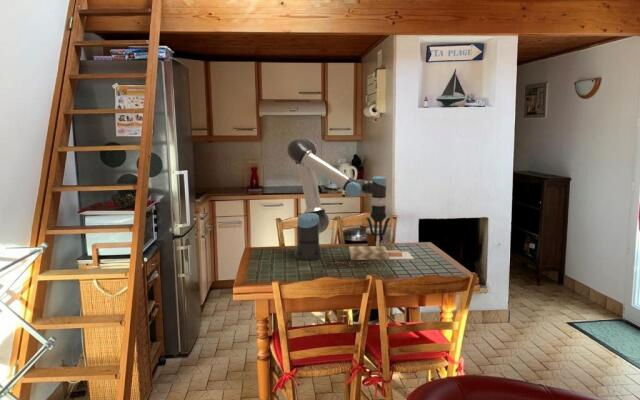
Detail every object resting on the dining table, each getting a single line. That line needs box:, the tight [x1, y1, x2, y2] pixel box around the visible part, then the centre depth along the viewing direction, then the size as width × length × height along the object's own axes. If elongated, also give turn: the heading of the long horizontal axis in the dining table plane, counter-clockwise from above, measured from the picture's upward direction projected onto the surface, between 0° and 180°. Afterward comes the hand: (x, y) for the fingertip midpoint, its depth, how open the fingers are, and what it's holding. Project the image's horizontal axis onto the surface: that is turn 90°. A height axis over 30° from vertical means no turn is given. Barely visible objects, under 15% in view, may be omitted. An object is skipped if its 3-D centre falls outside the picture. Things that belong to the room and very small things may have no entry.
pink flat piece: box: [387, 249, 403, 257], centre depth 265 cm, size 8×6×2 cm
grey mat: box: [389, 251, 415, 261], centre depth 265 cm, size 13×15×1 cm
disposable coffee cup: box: [365, 227, 381, 246], centre depth 281 cm, size 10×10×12 cm
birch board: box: [348, 245, 389, 261], centre depth 264 cm, size 20×14×4 cm
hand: (377, 247), depth 264 cm, fingers closed
